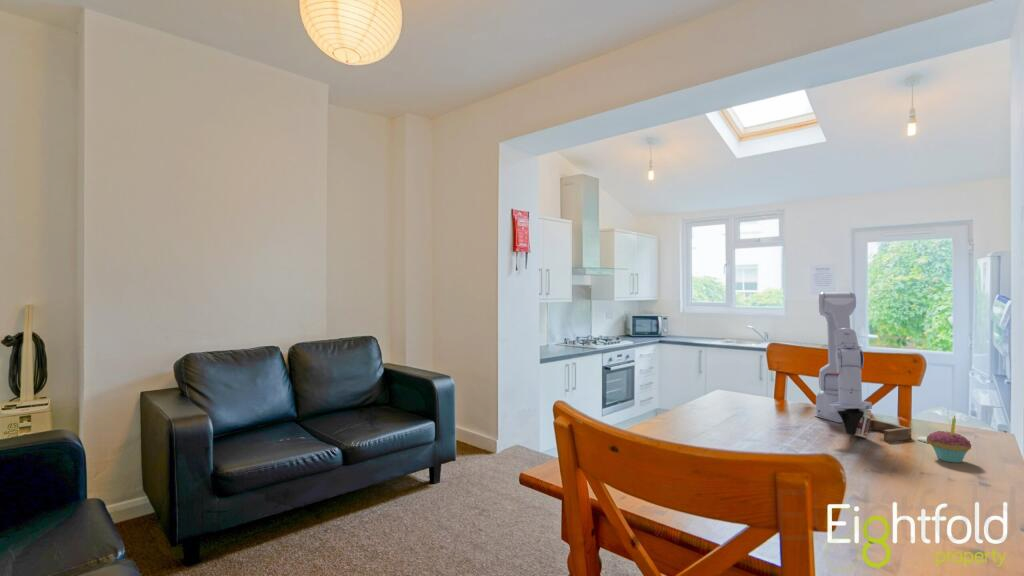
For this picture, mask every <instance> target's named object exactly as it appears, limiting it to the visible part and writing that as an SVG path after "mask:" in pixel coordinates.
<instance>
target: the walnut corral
mask: <svg viewBox="0 0 1024 576" xmlns="http://www.w3.org/2000/svg"><path fill="white" fill-rule="evenodd" d="M872 430H875V431H878V432H880V433H881V432H882V433H883V441H885V442H889V443H890V442H895V441H904V440H911V439H912V428H911V427H907V426H903V425H900V424H894V423H892V422H887V421H883V420H879V419H876V418H871V421H870V425H869V429H868V431H872Z"/></svg>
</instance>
